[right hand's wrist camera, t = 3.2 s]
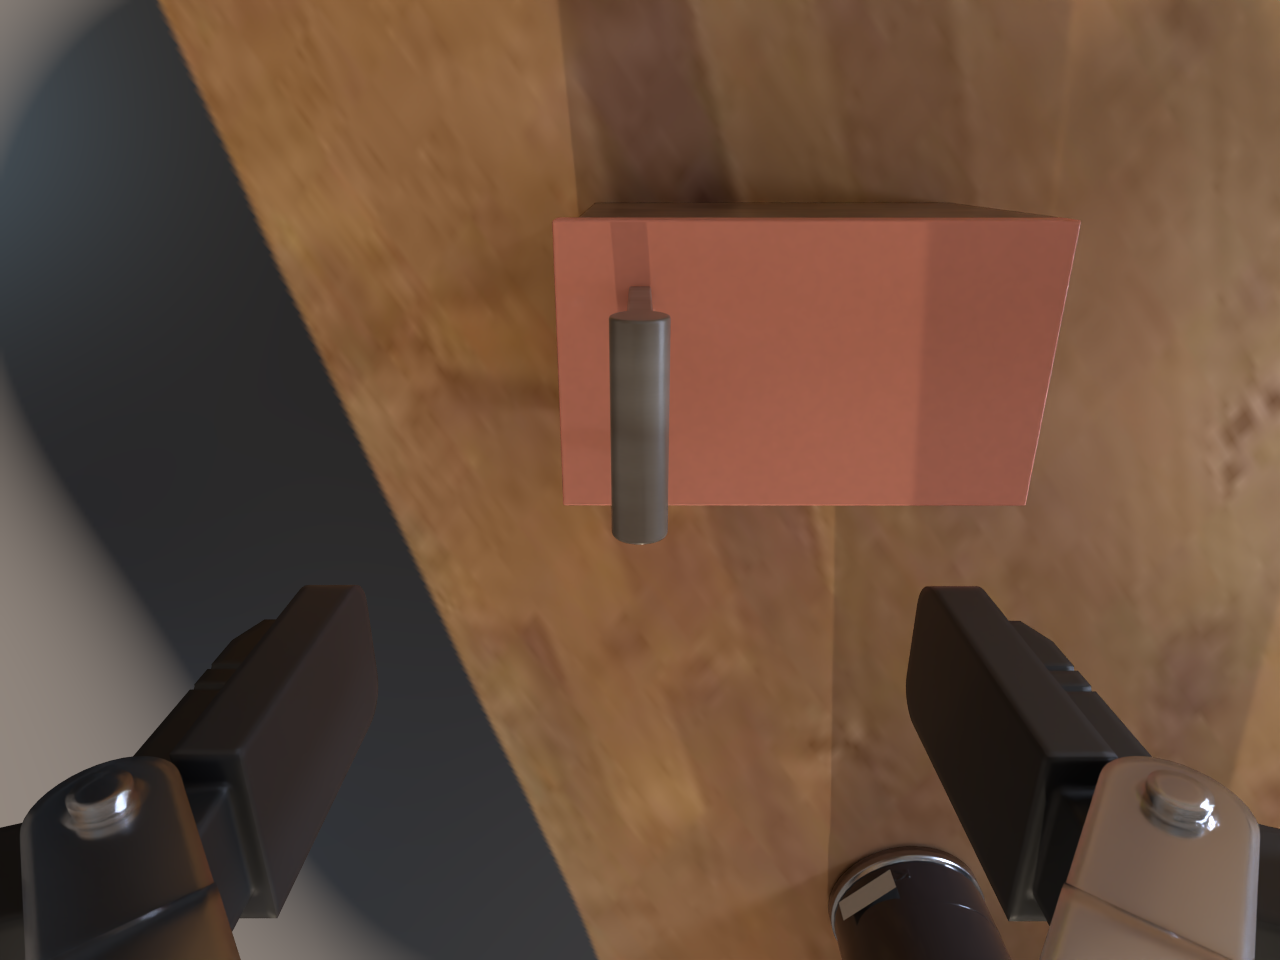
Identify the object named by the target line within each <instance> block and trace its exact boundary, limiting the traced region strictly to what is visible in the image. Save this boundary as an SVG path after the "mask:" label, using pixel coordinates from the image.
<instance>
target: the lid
mask: <svg viewBox="0 0 1280 960" xmlns="http://www.w3.org/2000/svg"><path fill="white" fill-rule="evenodd" d="M1080 224H1081V221H1080V220H1075V219H1068V218H556V219H554V220H553V222H552V227H553V252H554V278H555V303H556V329H557V355H558V380H559V406H560V431H561V457H562V483H563V504H564V505H611V509H612V534H613V536H614V537H615V538H616V539H618V540H619V541H622V542H625V543H629V544H651V543H655V542H658V541H660V540H662V539H663V538H664V537H665V536H666V535H667V532H668V505H1025V504H1026V499H1027V494H1028V489H1029V484H1030V479H1031V474H1032V469H1033V463H1034V458H1035V453H1036V448H1037V443H1038V438H1039V433H1040V428H1041V423H1042V418H1043V413H1044V407H1045V402H1046V397H1047V392H1048V387H1049V382H1050V377H1051V372H1052V367H1053V362H1054V357H1055V351H1056V346H1057V341H1058V336H1059V331H1060V326H1061V321H1062V316H1063V311H1064V306H1065V301H1066V295H1067V290H1068V285H1069V280H1070V275H1071V270H1072V265H1073V260H1074V255H1075V250H1076V244H1077V239H1078V234H1079V229H1080Z"/></svg>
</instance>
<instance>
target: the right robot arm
mask: <svg viewBox="0 0 1280 960" xmlns="http://www.w3.org/2000/svg"><path fill="white" fill-rule="evenodd" d="M377 695H378V677H377V669H376V662H375V655H374V649H373V642H372V635H371V628H370V621H369V614H368V608H367V602H366V597H365V593H364V591H363V589H362V588H361V587H360V586H358V585H306V586H304V587H302V588H301V589H300V590H299V592H298V593H297V594H296V595H295V597H294V598H293V599H292V600H291V602H290V603H289V604H288V605H287V607H286V608H285V609H284V610H283V612H282V613H281V614H280V615H279V617H278V618H277V619H276V620H263V621H262V622H260V623H259V624H257V625H255V626H254V627H252V628H251V629H249V630H247V631H246V632H244V633H243V634H241V635H240V636H238V637H236V638H235V639H233V640H232V641H231V642H230V643H229V645H228V646H227V647H226V648H225V649H224V650H223V652H222V653H221V654H220V655H219V656H218V657H217V659H216V660H215V661H214V662H213V663H212V668H211V669H207V670H206V672H205V673H204V674H203V675H202V676H201V677H200V679H199V680H198V681H197V682H196V683H195V687H194V690H189V691H188V693H187V694H186V695H185V696H184V697H183V698H182V700H181V701H180V702H179V703H178V704H177V706H176V707H175V708H174V709H173V710H172V711H171V713H170V714H169V715H168V716H167V717H166V718H165V720H164V721H163V722H162V723H161V724H160V726H159V727H158V728H157V729H156V730H155V731H154V733H153V734H152V735H151V736H150V737H149V738H148V740H147V741H146V742H145V743H144V744H143V745H142V747H141V748H140V749H139V750H138V751H137V752H136V754H135V755H134V756H133V757H126V758H121V759H116V760H112V761H108V762H105V763H102V764H99V765H96V766H93V767H91V768H88V769H86V770H83V771H81V772H79V773H77V774H75V775H73V776H71V777H70V778H68V779H66V780H65V781H63V782H61V783H60V784H58V785H57V786H55V787H54V788H53V789H51V790H50V791H49V792H47V793H46V794H45V795H44V796H43V797H42V798H41V799H40V800H38V801H37V803H36V804H35V805H34V806H33V807H32V808H31V809H30V811H29V812H28V814H27V815H26V817H25V818H24V821H23V823H20V824H15V825H11V826H6V827H2V828H0V960H241V959H240V956H239V953H238V950H237V947H236V943H235V940H234V937H233V934H232V931H233V929H234V927H235V925H236V923H237V922H238V919H239V918H278V916H279V913H280V911H281V909H282V907H283V905H284V903H285V901H286V899H287V897H288V895H289V893H290V891H291V888H292V886H293V884H294V882H295V880H296V878H297V876H298V874H299V872H300V870H301V868H302V866H303V863H304V861H305V859H306V857H307V855H308V853H309V851H310V849H311V847H312V845H313V843H314V840H315V838H316V836H317V834H318V832H319V830H320V828H321V826H322V824H323V822H324V820H325V818H326V815H327V813H328V811H329V809H330V807H331V805H332V803H333V801H334V799H335V797H336V795H337V792H338V790H339V788H340V786H341V784H342V782H343V780H344V778H345V776H346V774H347V772H348V770H349V768H350V765H351V763H352V761H353V759H354V757H355V755H356V753H357V751H358V749H359V747H360V744H361V742H362V740H363V738H364V736H365V734H366V732H367V730H368V728H369V726H370V724H371V721H372V719H373V716H374V713H375V709H376V703H377ZM906 697H907V705H908V710H909V714H910V717H911V721H912V723H913V725H914V727H915V729H916V731H917V733H918V735H919V738H920V740H921V742H922V744H923V746H924V748H925V750H926V752H927V754H928V756H929V758H930V760H931V762H932V764H933V766H934V768H935V770H936V773H937V775H938V777H939V779H940V781H941V783H942V785H943V787H944V789H945V791H946V793H947V795H948V797H949V799H950V801H951V803H952V806H953V808H954V810H955V812H956V814H957V816H958V818H959V820H960V822H961V824H962V826H963V828H964V830H965V832H966V834H967V836H968V838H969V841H970V843H971V845H972V847H973V849H974V851H975V853H976V855H977V857H978V859H979V861H980V863H981V865H982V867H983V869H984V871H985V873H986V876H987V878H988V880H989V882H990V884H991V886H992V888H993V890H994V892H995V894H996V896H997V898H998V900H999V902H1000V904H1001V906H1002V908H1003V911H1004V913H1005V915H1006V917H1007V919H1008V921H1047V922H1048V924H1049V926H1050V928H1049V931H1048V934H1047V937H1046V940H1045V943H1044V947H1043V950H1042V953H1041V956H1040V959H1039V960H1280V829H1277V828H1273V827H1268V826H1265V825H1261V824H1258V823H1257V821H1256V818H1255V817H1254V815H1253V814H1252V812H1251V811H1250V809H1249V808H1248V807H1247V806H1246V805H1245V804H1244V803H1243V801H1242V800H1241V799H1239V798H1238V797H1237V796H1236V795H1235V794H1234V793H1233V792H1231V791H1230V790H1229V789H1227V788H1226V787H1225V786H1223V785H1222V784H1220V783H1219V782H1217V781H1215V780H1214V779H1212V778H1210V777H1209V776H1207V775H1205V774H1203V773H1201V772H1199V771H1197V770H1194V769H1192V768H1189V767H1187V766H1184V765H1182V764H1178V763H1175V762H1172V761H1169V760H1164V759H1160V758H1154V757H1152V756H1151V755H1150V754H1149V753H1148V752H1147V751H1146V749H1145V748H1144V747H1143V746H1142V745H1141V744H1140V742H1139V741H1138V740H1137V739H1136V738H1135V737H1134V735H1133V734H1132V733H1131V732H1130V731H1129V730H1128V729H1127V727H1126V726H1125V725H1124V724H1123V723H1122V722H1121V720H1120V719H1119V718H1118V717H1117V716H1116V715H1115V713H1114V712H1113V711H1112V710H1111V709H1110V708H1109V706H1108V705H1107V704H1106V703H1105V702H1104V701H1103V699H1102V698H1101V697H1100V696H1099V695H1098V694H1097V692H1092V691H1091V686H1090V684H1089V683H1088V682H1087V681H1086V680H1085V679H1084V677H1083V676H1082V675H1081V674H1080V673H1079V672H1078V671H1074V666H1073V665H1072V663H1071V662H1070V661H1069V660H1068V659H1067V658H1066V656H1065V655H1064V654H1063V653H1062V652H1061V651H1060V649H1059V648H1058V647H1057V646H1056V645H1055V644H1054V643H1053V642H1052V641H1051V640H1049V639H1048V638H1046V637H1045V636H1043V635H1041V634H1040V633H1038V632H1037V631H1035V630H1034V629H1032V628H1030V627H1029V626H1027V625H1026V624H1024V623H1023V622H1021V621H1008V619H1007V618H1006V617H1005V616H1004V614H1003V613H1002V612H1001V611H1000V609H999V608H998V607H997V606H996V605H995V603H994V602H993V601H992V600H991V598H990V597H989V596H988V595H987V593H986V592H985V591H984V590H983V589H982V588H980V587H977V586H927V587H925V588H923V590H922V591H921V593H920V595H919V599H918V604H917V610H916V617H915V623H914V630H913V637H912V644H911V650H910V657H909V664H908V670H907V678H906ZM828 909H829V917H830V921H831V925H832V929H833V932H834V935H835V938H836V940H837V941H838V946H839V950H840V954H841V958H842V960H1011V958H1010V956H1009V954H1008V951H1007V949H1006V947H1005V945H1004V943H1003V941H1002V939H1001V936H1000V934H999V931H998V929H997V927H996V925H995V923H994V921H993V919H992V917H991V914H990V912H989V910H988V908H987V906H986V904H985V900H984V896H983V893H982V891H981V889H980V887H979V885H978V882H977V880H976V878H975V876H974V874H973V873H972V871H971V870H970V869H969V868H968V867H967V865H966V864H964V863H963V862H962V861H961V860H959V859H958V858H956V857H955V856H953V855H951V854H949V853H946V852H944V851H941V850H938V849H933V848H928V847H918V846H907V847H898V848H892V849H888V850H884V851H881V852H877V853H875V854H872V855H870V856H868V857H866V858H864V859H862V860H860V861H859V862H857V863H856V864H854V865H853V866H852V867H850V868H849V869H848V870H847V871H846V872H845V873H844V874H843V875H842V876H841V877H840V878H839V880H838V881H837V883H836V884H835V886H834V888H833V890H832V892H831V895H830V899H829V905H828Z"/></svg>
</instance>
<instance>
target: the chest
mask: <svg viewBox="0 0 1280 960" xmlns="http://www.w3.org/2000/svg"><path fill="white" fill-rule="evenodd" d="M579 218H1058V217H1052V216H1045V215H1037V214H1030V213H1022V212H1015V211H1007V210H999V209H992V208H984V207H977V206H969V205H962V204H955V203H594V204H593V205H592V206H591V207H590V208H589V209H588V210H587V211H586V212H584V213H583V214H582V215H581V216H580V217H579Z"/></svg>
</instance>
